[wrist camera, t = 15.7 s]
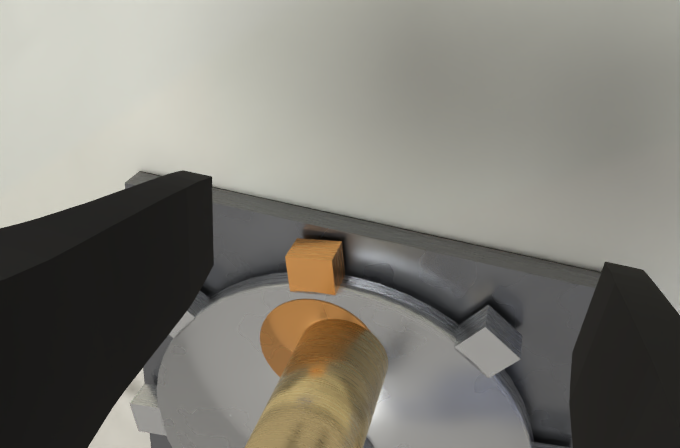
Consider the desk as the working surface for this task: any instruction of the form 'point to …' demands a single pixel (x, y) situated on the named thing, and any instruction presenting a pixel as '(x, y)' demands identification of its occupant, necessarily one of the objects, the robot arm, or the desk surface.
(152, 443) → the base plate
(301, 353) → the roller
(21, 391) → the robot arm
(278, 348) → the tabbed metal disc
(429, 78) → the desk surface
